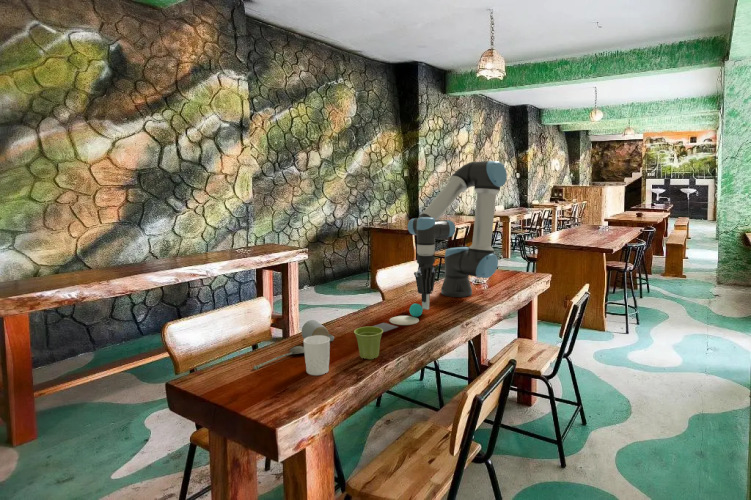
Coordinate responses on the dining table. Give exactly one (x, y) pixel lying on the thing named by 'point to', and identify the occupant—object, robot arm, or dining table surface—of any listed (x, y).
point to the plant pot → (368, 341)
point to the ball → (416, 310)
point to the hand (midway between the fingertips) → (425, 308)
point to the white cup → (317, 354)
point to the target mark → (404, 320)
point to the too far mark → (385, 326)
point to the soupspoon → (292, 351)
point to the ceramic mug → (315, 330)
